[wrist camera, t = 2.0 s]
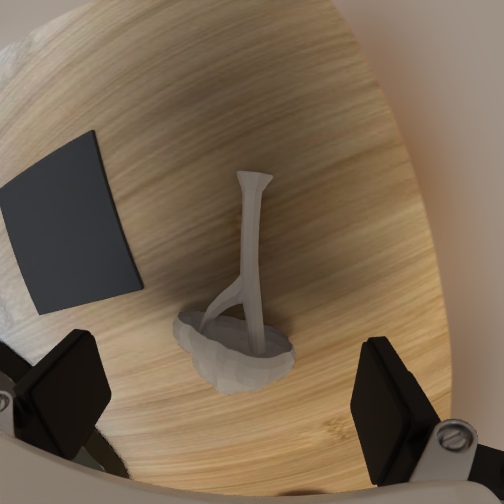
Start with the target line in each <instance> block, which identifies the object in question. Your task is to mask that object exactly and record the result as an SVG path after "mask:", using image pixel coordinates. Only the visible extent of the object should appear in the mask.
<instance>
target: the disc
mask: <svg viewBox="0 0 504 504" xmlns="http://www.w3.org/2000/svg"><path fill="white" fill-rule="evenodd" d="M31 369H32V368H31V367H30V366H29V365H28V364H26V363H25V362H24V361H23V360H21V359H20V358H19V357H18V356H16V355H15V354H14V353H13V352H11V351H10V350H9V349H8V348H7V347H5V346H4V345H2V344H1V343H0V391H6V392H8V393H10V394H11V395H12V397H13V399H14V398H15V397H16V395H15V393H14V391H13V389H12V388H13V387H14V386H15V385H16V384H17V383H18V382H19V381H20V380H21V379H22V378H23V377H24V376H25V375H26V374H27V373H28V372H29V371H30V370H31ZM71 462H74V463H77V464H80V465H82V466H85V467H88V468H91V469H95V470H98V471H101V472H104V473H108V474H111V475H115V476H118V477H122V478H126V479H129V477H128V475H127V472H126V470H125V468H124V466H123V464H122V463H121V461H120V460H119V458H118V457H117V456H116V454H115V453H114V451H113V450H112V448H111V447H110V446H109V445H108V444H107V443H106V442H105V440H104V439H103V438H102V437H101V436H100V435H99V433H98V432H97V431H96V430H95V429H94V428H93V429H92V431H91V432H90V434H89V436H88V437H87V439H86V441H85V442H84V444H83V446H82V447H81V449H80V451H79V452H78V454H77V456H76V457H75V459H73V460H71Z"/></svg>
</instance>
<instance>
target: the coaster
mask: <svg viewBox="0 0 504 504" xmlns="http://www.w3.org/2000/svg"><path fill="white" fill-rule="evenodd" d="M0 207H1V211H2V215H3V218H4V222H5V225H6V229H7V232H8V235H9V239H10V242H11V245H12V248H13V251H14V254H15V257H16V260H17V263H18V265H19V268H20V271H21V273H22V276H23V279H24V281H25V284H26V286H27V289H28V291H29V293H30V296H31V298H32V300H33V303H34V305H35V307H36V309H37V311H38V314H39V315H42V314H46V313H50V312H54V311H59V310H63V309H67V308H71V307H75V306H79V305H83V304H87V303H91V302H95V301H99V300H103V299H107V298H111V297H115V296H119V295H122V294H126V293H130V292H134V291H138V290H142V289H143V288H144V287H143V284H142V282H141V279H140V277H139V274H138V272H137V269H136V266H135V264H134V261H133V258H132V256H131V253H130V250H129V247H128V245H127V242H126V239H125V236H124V233H123V230H122V227H121V224H120V221H119V218H118V215H117V212H116V209H115V206H114V203H113V199H112V196H111V193H110V189H109V186H108V183H107V179H106V176H105V172H104V168H103V165H102V161H101V157H100V153H99V149H98V146H97V141H96V137H95V133H94V130H91V131H89V132H87V133H85V134H83V135H81V136H80V137H78V138H76V139H74V140H73V141H71V142H69V143H67V144H66V145H64V146H62V147H61V148H59V149H57V150H56V151H54V152H52V153H51V154H49V155H48V156H46V157H45V158H43V159H41V160H40V161H38V162H37V163H35V164H34V165H32V166H31V167H29V168H28V169H26V170H25V171H24V172H22V173H21V174H19V175H18V176H16V177H15V178H14V179H12V180H11V181H10V182H8V183H7V184H6V185H4V186H3V187H2V188H0Z"/></svg>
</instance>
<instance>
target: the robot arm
mask: <svg viewBox="0 0 504 504" xmlns="http://www.w3.org/2000/svg"><path fill="white" fill-rule="evenodd" d="M12 389H13V391H14V393H15V395H16V397H15V398H14V399H13V397H12V395H11V394H10V393H8V392H6V391H0V504H504V451H501V450H497V449H494V448H490V447H487V446H484V445H481V444H478V435H477V432H476V430H475V429H474V428H473V426H471V425H470V424H469V423H467V422H465V421H463V420H459V419H447V420H444V421H441V420H440V418H439V417H438V415H437V413H436V412H435V410H434V408H433V407H432V405H431V403H430V402H429V400H428V398H427V397H426V395H425V393H424V392H423V390H422V389H421V387H420V385H419V384H418V382H417V380H416V379H415V377H414V376H413V374H412V373H411V372H410V371H408V370H407V368H406V367H405V365H404V364H403V362H402V361H401V359H400V357H399V356H398V354H397V353H396V351H395V350H394V348H393V347H392V345H391V343H390V342H389V340H388V339H387V338H386V337H385V336H382V337H370V338H368V340H367V342H363V344H362V348H361V353H360V359H359V364H358V369H357V374H356V379H355V384H354V389H353V393H352V398H351V403H350V408H351V413H352V417H353V420H354V423H355V427H356V430H357V433H358V437H359V440H360V444H361V447H362V451H363V454H364V458H365V461H366V465H367V468H368V472H369V476H370V480H371V483H372V484H373V485H376V484H377V486H378V487H375V488H368V489H362V490H355V491H348V492H339V493H330V494H318V495H303V496H237V495H222V494H211V493H202V492H194V491H186V490H180V489H174V488H168V487H162V486H157V485H152V484H147V483H143V482H138V481H134V480H130V479H126V478H122V477H118V476H115V475H111V474H108V473H104V472H101V471H98V470H95V469H91V468H88V467H85V466H82V465H80V464H77V463H74V462H71V460H73V459H75V457H76V456H77V454H78V452H79V451H80V449H81V447H82V446H83V444H84V442H85V441H86V439H87V437H88V436H89V434H90V432H91V431H92V429H93V427H94V426H95V424H96V422H97V421H98V419H99V418H100V416H101V414H102V413H103V411H104V410H105V408H106V406H107V405H108V403H109V402H110V400H111V390H110V387H109V384H108V381H107V378H106V375H105V372H104V368H103V365H102V362H101V359H100V355H99V352H98V348H97V345H96V341H95V338H94V336H93V335H91V333H90V332H89V331H87V330H80V329H74V330H73V331H72V332H70V333H69V334H68V335H67V336H66V337H65V338H64V339H63V340H62V341H61V342H60V343H58V344H57V345H56V346H55V347H54V348H53V349H52V350H51V351H50V352H49V353H48V354H47V355H46V356H45V357H44V358H43V359H42V360H40V361H39V362H38V363H37V364H36V365H35V366H34V367H33V368H32V369H31V370H30V371H29V372H28V373H27V374H26V375H25V376H24V377H23V378H22V379H21V380H20V381H19V382H18V383H17V384H16V385H15V386H14V387H13V388H12Z"/></svg>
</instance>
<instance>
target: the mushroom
mask: <svg viewBox="0 0 504 504" xmlns="http://www.w3.org/2000/svg"><path fill="white" fill-rule="evenodd" d="M236 174H237V177H238V180H239V183H240V186H241V189H242V225H241V263H240V275H239V277H238V278H237V279H236V280H235V282H234V283H233V284H231V285H230V286H229V287H228V288H227V289H225V290H224V291H223V292H222V293H221V294H219V295H218V296H217V298H216V299H215V300H214V301H213V302H212V303H211V304H210V305H209V307H208V308H207V310H206V313H203V312H198V311H185V312H180V313H179V314H178V316H177V317H176V318H175V320H174V322H173V335H174V337H175V339H176V341H177V344H178V345H179V346H180V347H181V348H182V349H183V350H185V351H186V352H188V353H190V354H192V360H193V366H194V367H195V369H196V370H197V372H198V374H199V375H200V376H201V377H202V378H203V379H205V380H206V381H207V382H209V383H210V384H212V385H213V386H214V388H215V389H216V390H217V392H219V393H223V394H227V395H231V394H234V393H236V392H254V391H257V390H260V389H262V388H263V387H265V386H267V385H268V384H270V383H272V382H274V381H277V380H279V379H282V378H284V377H285V376H286V375H287V374H288V373H289V372H290V370H291V369H292V368H293V366H294V362H295V358H296V352H295V349H294V347H293V345H292V344H291V343H290V342H289V341H288V338H287V336H286V335H285V334H284V333H283V332H282V331H280V330H278V329H277V328H274V327H272V326H269V325H263V315H262V304H261V293H260V281H259V269H258V241H259V221H260V208H261V199H262V192H263V191H264V189H265V188H266V187H267V185H268V184H269V182H270V181H271V180H272V178H273V177H274V176H273V175H269V174H264V173H260V172H250V171H237V172H236ZM236 304H243V307H244V312H245V318H246V320H240V319H237V318H234V317H229V316H222V315H219V314H220V313H221V312H223V311H224V310H226V309H227V308H229V307H231V306H234V305H236Z"/></svg>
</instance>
